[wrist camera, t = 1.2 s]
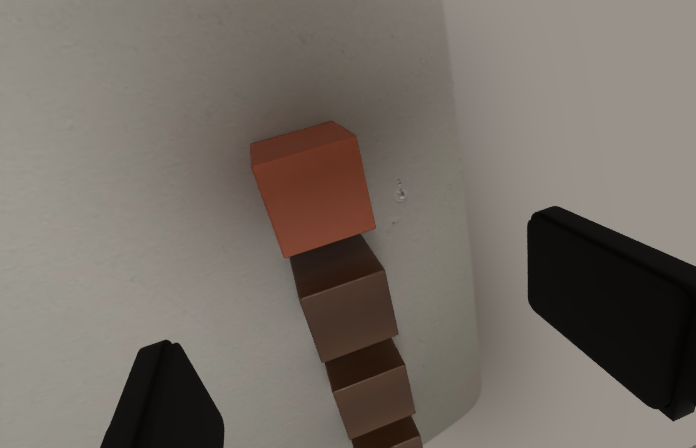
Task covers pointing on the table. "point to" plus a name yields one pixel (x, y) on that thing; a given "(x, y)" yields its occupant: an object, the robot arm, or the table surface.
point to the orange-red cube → (312, 187)
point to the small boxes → (357, 341)
